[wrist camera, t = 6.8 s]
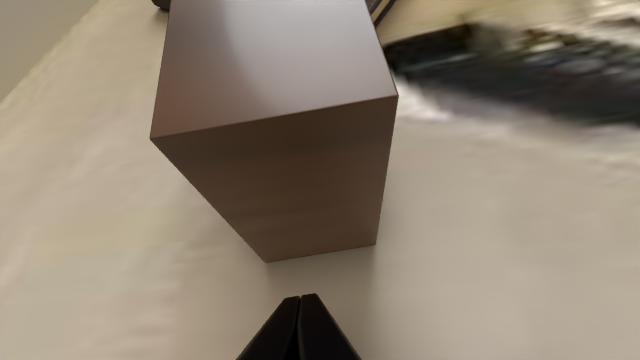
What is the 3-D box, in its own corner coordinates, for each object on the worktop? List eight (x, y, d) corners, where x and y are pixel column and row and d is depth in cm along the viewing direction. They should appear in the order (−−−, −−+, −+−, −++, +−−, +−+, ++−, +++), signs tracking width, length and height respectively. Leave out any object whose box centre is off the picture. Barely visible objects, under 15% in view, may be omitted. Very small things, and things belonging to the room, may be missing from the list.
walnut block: (375, 244, 20) (399, 95, 9) (265, 262, 20) (148, 139, 9) (352, 141, 24) (347, -53, 13) (259, 157, 24) (173, -21, 13)
